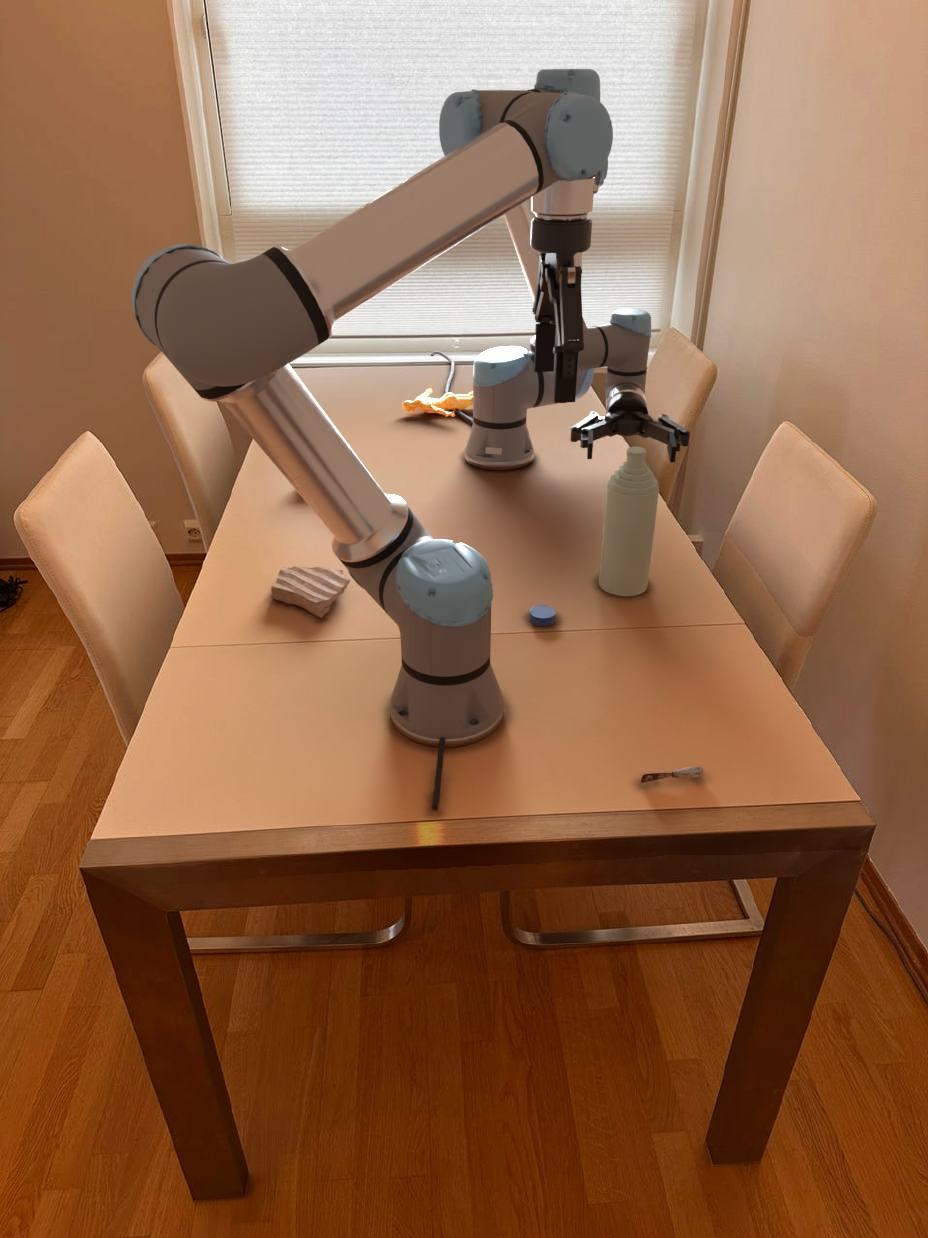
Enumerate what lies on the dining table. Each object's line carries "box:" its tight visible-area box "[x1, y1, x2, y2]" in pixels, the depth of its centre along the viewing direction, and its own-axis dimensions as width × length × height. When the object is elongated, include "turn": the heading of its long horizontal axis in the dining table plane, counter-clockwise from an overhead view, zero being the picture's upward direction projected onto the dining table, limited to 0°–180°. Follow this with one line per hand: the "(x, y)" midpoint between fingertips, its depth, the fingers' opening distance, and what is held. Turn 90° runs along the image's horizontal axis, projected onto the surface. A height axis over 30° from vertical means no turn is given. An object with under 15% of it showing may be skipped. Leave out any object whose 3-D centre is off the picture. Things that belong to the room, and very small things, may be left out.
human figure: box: [402, 385, 473, 418], centre depth 225 cm, size 20×20×4 cm
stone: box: [270, 565, 351, 619], centre depth 147 cm, size 13×12×2 cm
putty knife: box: [640, 765, 705, 784], centre depth 109 cm, size 1×8×2 cm, turn 103°
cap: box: [528, 604, 557, 627], centre depth 141 cm, size 4×4×2 cm
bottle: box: [598, 446, 660, 597], centre depth 144 cm, size 8×8×24 cm
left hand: (553, 385), depth 121 cm, fingers open, 13 cm apart
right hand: (631, 453), depth 147 cm, fingers open, 13 cm apart
